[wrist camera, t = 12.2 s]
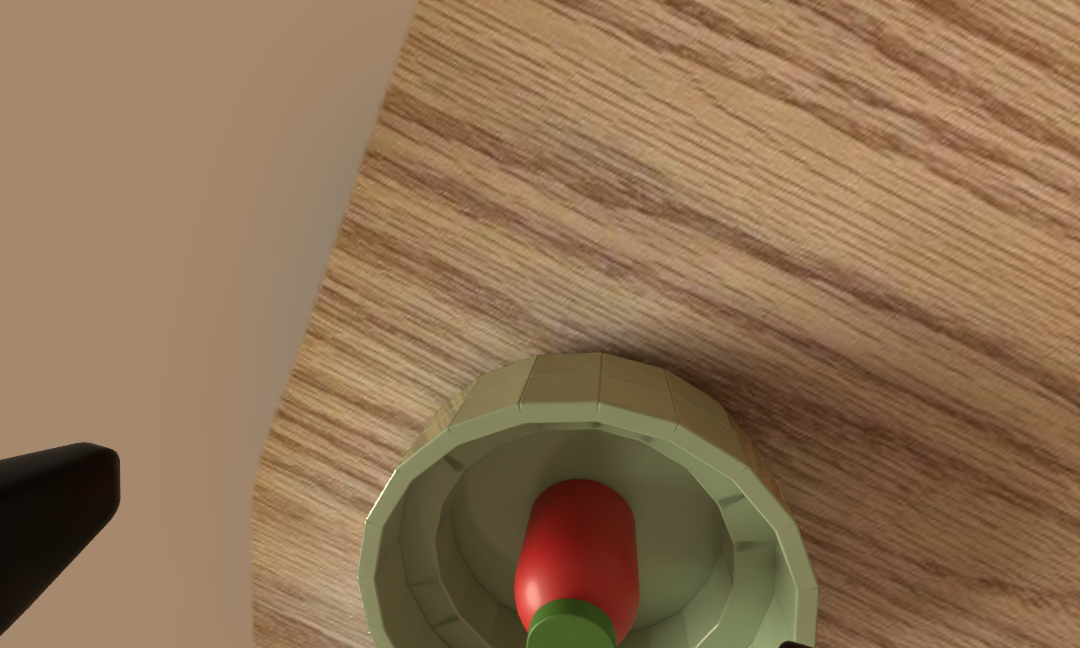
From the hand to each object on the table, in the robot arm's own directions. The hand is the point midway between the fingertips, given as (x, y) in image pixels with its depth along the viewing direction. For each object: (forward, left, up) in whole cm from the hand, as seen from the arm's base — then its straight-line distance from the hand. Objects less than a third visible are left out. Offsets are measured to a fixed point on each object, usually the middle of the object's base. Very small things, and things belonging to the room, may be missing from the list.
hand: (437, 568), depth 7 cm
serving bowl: (+3, -7, -11) cm, 14 cm away
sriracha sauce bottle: (+3, -7, -11) cm, 13 cm away
